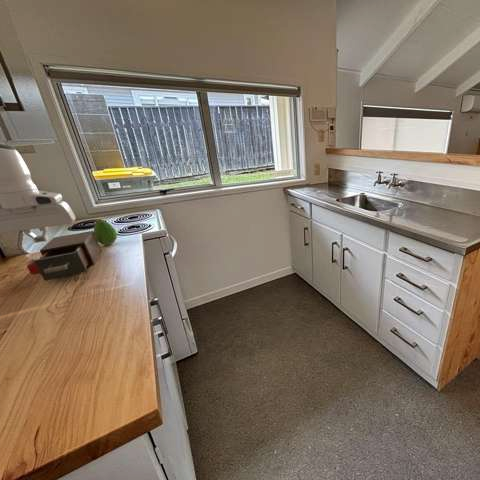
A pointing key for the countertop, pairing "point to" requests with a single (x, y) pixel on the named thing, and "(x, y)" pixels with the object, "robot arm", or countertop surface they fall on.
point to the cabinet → (76, 239)
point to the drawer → (63, 262)
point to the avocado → (104, 232)
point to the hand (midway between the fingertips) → (41, 241)
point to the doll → (32, 266)
